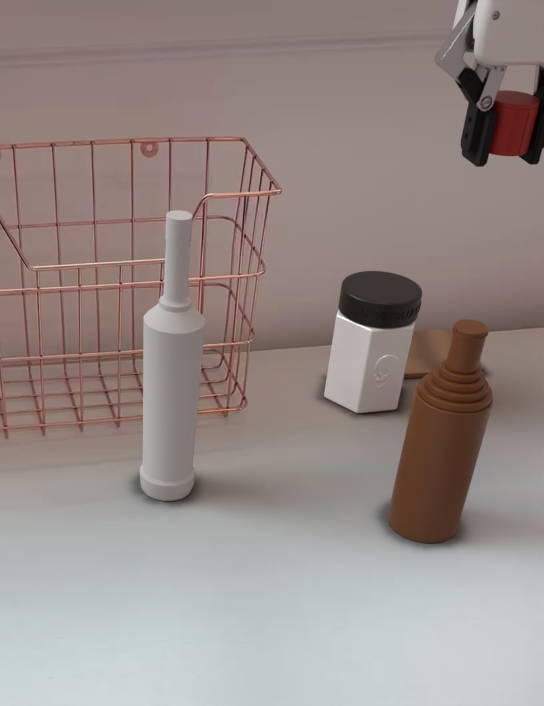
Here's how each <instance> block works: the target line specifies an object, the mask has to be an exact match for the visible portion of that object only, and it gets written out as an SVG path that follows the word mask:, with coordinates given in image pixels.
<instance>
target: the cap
mask: <svg viewBox="0 0 544 706" xmlns="http://www.w3.org/2000/svg"><path fill="white" fill-rule="evenodd" d="M539 103H540V100H539V98H537V97H536V96H534V95H533V94H531V93H527V92H524V91H518V90H509V89H508V90H505V89H503V90H500V89H499V90H498V93H497V96H496V99H495V101H494V104H493V108H492V109H493V110H495V111H496V112H497V114H498V117H497V121H496V126H495V130H494V135H493V139H492V143H491V148H490V152H489V155H493V156H500V157H519V156H520V155H524V154H526V153H527V151H528V147H529V143H530V139H531V135H532V131H533V127H534V123H535V119H536V115H537V111H538V107H539Z"/></svg>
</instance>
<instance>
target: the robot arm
mask: <svg viewBox="0 0 544 706" xmlns="http://www.w3.org/2000/svg"><path fill="white" fill-rule="evenodd" d="M465 53H473V55H474V58H475V59H474V61H473V63H472V67H470V65H468V64H467V62H466V61H465V60H464V55H465ZM433 59H434V63H435V65H436V66H438V67H439V68H440V69H441V70H442V71H444V73H446V74H447V75H448V76H449V77H451V78H452V79H453V81H454V82H455V84H456V85H457V87H458V88H459V90H460V91H461V93H462V94H463V98H464V100H465V101H467V103H468V104H467V108H466V109H467V110H466V114H465V118H464V122H463V128H462V134H461V136H460V137H461V138H460V148H461V156H462V157H463V158H464V159H465V160H467V161H468V162H470V163H471V164H472V165H473V166H475V167H476V168H481V167H482V168H483V167H485V165H487V164H488V161H489V156H490V153H489V152H490V148H491V143H492V139H493V135H494V130H495V126H496V121H497V117H498V114H497V112H496V111H495V110H493V109H492V108H493V104H494V101H495V99H496V96H497V93H498V91H500V87H501V84H502V82H503V79H504V76H505V75H506V71H507V70H508V66H535V71H534V73H535V75H534V83H533V92H532V93H533V94H532V95H534V96H536V97H537V98H539V100H540V103H539V107H538V111H537V115H536V119H535V123H534V127H533V131H532V135H531V139H530V143H529V147H528V151H527V153H526V154H524V155H520V156H518V158H520V159H521V160H523V161H524V162H526V163H527V164H528V165H532V166H533V165H538V164H539V163H540V161H541V160H540V159H541V156H542V152H543V150H544V0H458V2H457V7H456V12H455V16H454V21H453V26H452V30H451V32H450V33H449V35H448V36H447V37H446V39H445V41H444V42H443V44H442V45H441V46H440V48H439V49H438V50H437V52H436V53H435V54H434V58H433Z"/></svg>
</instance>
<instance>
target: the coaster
mask: <svg viewBox="0 0 544 706" xmlns="http://www.w3.org/2000/svg"><path fill="white" fill-rule="evenodd" d="M452 334H453V332H452V330H450V328H444V329H441V328H440V329H425V330H414V331H413V336H412V341H411V345H410V350H409V355H408V360H407V364H406V369H405V374H404V379H403V380H405V379H417V378H423V377H424V376H425V375H427V374H428V373H429V372H430V371H431V370H433V369H434V368H435V367H436V366H437V365H439V364H441V362H442V361H443V360H445V359H447V355H448V351H449V347H450V342H451V338H452ZM479 366H480V367H481V369H482V372H483V373H484V371H485V368H484V367H483V366H482V365H481V363H479Z"/></svg>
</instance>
